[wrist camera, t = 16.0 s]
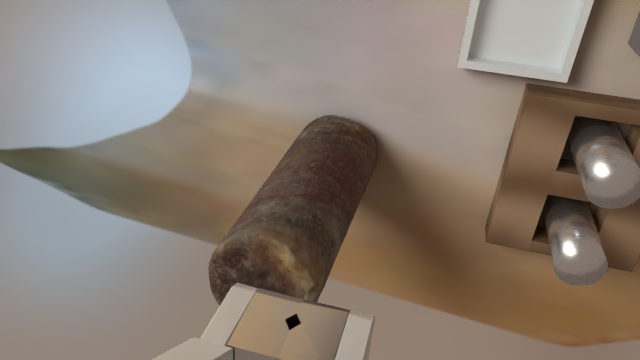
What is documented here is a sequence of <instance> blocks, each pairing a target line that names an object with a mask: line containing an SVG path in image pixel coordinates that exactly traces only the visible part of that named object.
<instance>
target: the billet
mask: <svg viewBox="0 0 640 360" xmlns="http://www.w3.org/2000/svg"><path fill="white" fill-rule="evenodd" d="M568 143H569V146H570V149H571V152H572V155H573V158H574V161H575V164H576V167H577V170H578V173H579V176H580V179H581V182H582V185H583V188H584V191H585V194H586V196H587V198H588V199H589V200H590V201H591V202H592V203H593V204H594V205H596V206H598V207H601V208H605V209H618V208H623V207H626V206H628V205H630V204H632V203H634V202H635V201H636V200H638V199H639V198H640V168H639V166H638V164H637V163H636V161H635V159H634V157H633V155H632V154H631V152H630V150H629V148H628V146H627V144H626V143H625V141H624V139H623V137H622V135H621V133H620V132H619V130H618V128H617V126H616V124H615V123H614V122H613V121H608V120H601V119H595V118H588V117H584V118H582V119H580V120H578V121H577V122H576V123H575V124H574V125H573V126H572V127H571V129H570V132H569V135H568Z"/></svg>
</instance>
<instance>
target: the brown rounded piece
mask: <svg viewBox="0 0 640 360" xmlns="http://www.w3.org/2000/svg"><path fill="white" fill-rule="evenodd" d="M376 162H377V145H376V142H375V141H374V139H373V136H372V134H371V133H370V132H369V131H368V130H366V129H365V128H364V127H363V126H362V125H360V124H358V123H356V122H353V121H351V120H349V119H346V118H343V117H338V116H333V115H328V116H323V117H320V118H317V119H316V120H314V121H312V122H311V123H310V124H308V125H307V126H306V127H305V129H304V130H303V131H302V132H301V134H300V135H299V136H298V138H297V139H296V140H295V141H294V143H293V144H292V146H291V147H290V148H289V150H288V151H287V152H286V154H285V155H284V157H283V158H282V159H281V161H280V162H279V164H278V165H277V166H276V168H275V169H274V171H273V172H272V173H271V175H270V176H269V178H268V179H267V180H266V181H265V183H264V184H263V186H262V187H261V188H260V189H259V191H258V192H257V194H256V195H255V197H254V198H253V200H252V201H251V202H250V204H249V205H248V206H247V208H246V209H245V210H244V212H243V213H242V214H241V216H240V217H239V218H238V220H237V221H236V223H235V224H234V225H233V227H232V228H231V229H230V231H229V232H228V233H227V235H226V236H225V237H224V239H223V240H222V241H221V242H220V244H219V245H218V246H217V248H216V249H215V250H214V252H213V254H212V258H211V260H210V263H209V279H210V286H211V291H212V294H213V295H214V297H215V299H216V301H217V303H218V304H219V305H221V303H222V302H223V300H224V298H225V297H226V295H227V294H228V292H229V290H230V289H231V287H232V286H234V285H235V284H236V283H240V284H244V285H248V286H251V287H255V288H261V289H265V290H268V291H272V292H276V293H280V294H283V295H287V296H291V297H295V298H298V299H302V300H308V301H312V302H317V301H318V298H319V296H320V294H321V292H322V290H323V288H324V286H325V283H326V281H327V278H328V276H329V274H330V271H331V269H332V267H333V263H334V261H335V259H336V257H337V254H338V252H339V250H340V247H341V245H342V243H343V240H344V238H345V236H346V234H347V231H348V228H349V226H350V224H351V221H352V219H353V217H354V214H355V212H356V210H357V208H358V205H359V203H360V201H361V198H362V196H363V194H364V192H365V190H366V187H367V185H368V183H369V180H370V178H371V176H372V173H373V170H374V168H375V166H376Z"/></svg>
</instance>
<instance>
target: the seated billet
mask: <svg viewBox="0 0 640 360" xmlns="http://www.w3.org/2000/svg"><path fill="white" fill-rule="evenodd" d="M543 213H544V218H545V223H546V229H547V234H548V239H549V244H550V250H551V255H552V260H553V266H554V270H555V273H556V275H557V276H558V277H559V278H560V279H561V280H563V281H564V282H566V283H569V284H572V285H589V284H592V283H595V282H597V281H599V280H600V279H601V278H602V277H603V276H604V275H605V274H606V272H607V269H608V262H607V259H606V256H605V253H604V250H603V247H602V244H601V241H600V238H599V235H598V232H597V229H596V226H595V223H594V220H593V217H592V214H591V211H590V208H589V205H588V202H587V201H582V200H576V199H571V198H565V197H560V196H554V195H551V196H550V197H549V198H548V199H547V200H546V201H545V203H544V206H543Z"/></svg>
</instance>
